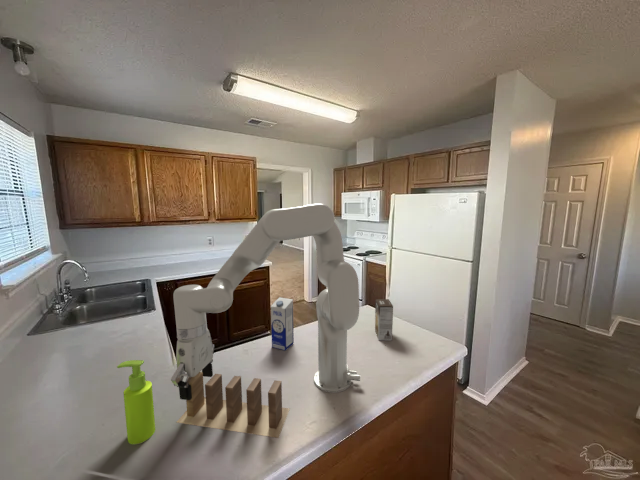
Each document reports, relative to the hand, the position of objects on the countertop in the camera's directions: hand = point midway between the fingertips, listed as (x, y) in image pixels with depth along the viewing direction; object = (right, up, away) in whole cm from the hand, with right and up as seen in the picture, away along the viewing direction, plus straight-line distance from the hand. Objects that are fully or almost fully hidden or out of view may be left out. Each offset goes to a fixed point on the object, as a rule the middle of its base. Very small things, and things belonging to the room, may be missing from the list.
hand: (197, 386), depth 75 cm
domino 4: (+17, -7, -3) cm, 19 cm away
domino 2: (+5, -7, 0) cm, 9 cm away
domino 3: (+11, -7, -2) cm, 13 cm away
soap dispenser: (-11, -8, -8) cm, 16 cm away
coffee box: (+64, -2, +46) cm, 79 cm away
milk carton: (+19, -3, +38) cm, 42 cm away
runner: (+11, -7, -1) cm, 14 cm away
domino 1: (-1, -7, +1) cm, 7 cm away
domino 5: (+23, -7, -4) cm, 24 cm away
